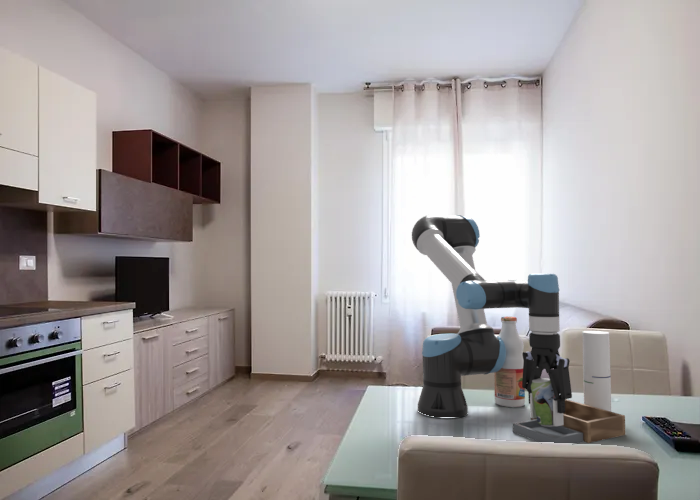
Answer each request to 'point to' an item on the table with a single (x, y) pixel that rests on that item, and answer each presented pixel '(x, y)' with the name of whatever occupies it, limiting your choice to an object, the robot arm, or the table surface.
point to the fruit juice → (510, 367)
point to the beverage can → (543, 401)
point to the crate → (592, 421)
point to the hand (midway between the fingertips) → (546, 421)
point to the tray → (547, 432)
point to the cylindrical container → (596, 369)
